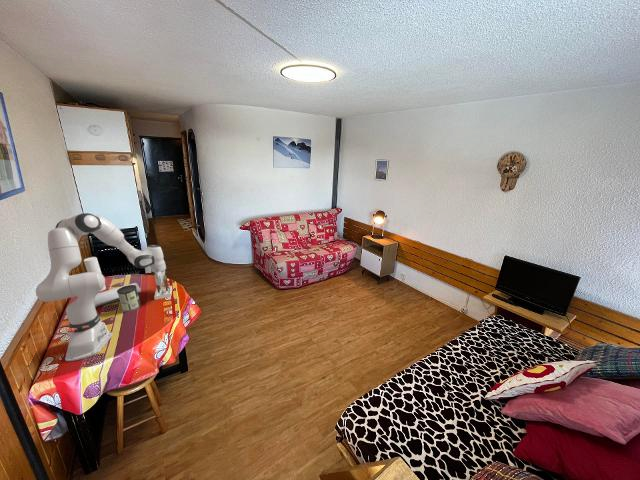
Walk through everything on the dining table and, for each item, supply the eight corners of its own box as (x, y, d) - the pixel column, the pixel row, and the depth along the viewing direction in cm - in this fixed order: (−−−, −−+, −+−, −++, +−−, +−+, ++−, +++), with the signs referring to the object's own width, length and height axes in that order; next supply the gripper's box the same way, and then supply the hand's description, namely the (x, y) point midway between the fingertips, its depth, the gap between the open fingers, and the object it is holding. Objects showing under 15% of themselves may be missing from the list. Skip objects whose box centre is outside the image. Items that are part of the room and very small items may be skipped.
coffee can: (130, 302, 177) (125, 284, 172) (144, 303, 176) (140, 285, 171) (118, 311, 167) (112, 292, 163) (133, 312, 166) (127, 293, 162)
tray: (142, 294, 188) (141, 290, 186) (85, 312, 167) (83, 307, 166) (137, 286, 199) (136, 282, 198) (83, 302, 178) (81, 297, 177)
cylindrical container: (99, 292, 189) (89, 261, 181) (91, 291, 191) (81, 260, 183) (108, 287, 196) (99, 257, 188) (100, 286, 197) (91, 256, 189)
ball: (166, 294, 186) (165, 290, 185) (161, 295, 184) (160, 291, 184) (166, 292, 188) (165, 288, 187) (161, 293, 187) (160, 289, 186)
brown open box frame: (167, 291, 183) (165, 278, 180) (158, 293, 181) (155, 280, 178) (168, 287, 189) (166, 275, 185) (159, 289, 186) (156, 276, 183)
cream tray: (171, 297, 184) (170, 293, 182) (155, 300, 179) (154, 296, 178) (172, 289, 194) (171, 285, 193) (156, 292, 190) (156, 288, 189)
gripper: (161, 272, 171) (165, 290, 176) (165, 261, 189) (168, 278, 193) (150, 274, 169) (155, 292, 173) (155, 262, 187) (158, 280, 191)
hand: (162, 285), depth 183 cm, fingers closed on brown open box frame, 5 cm apart
